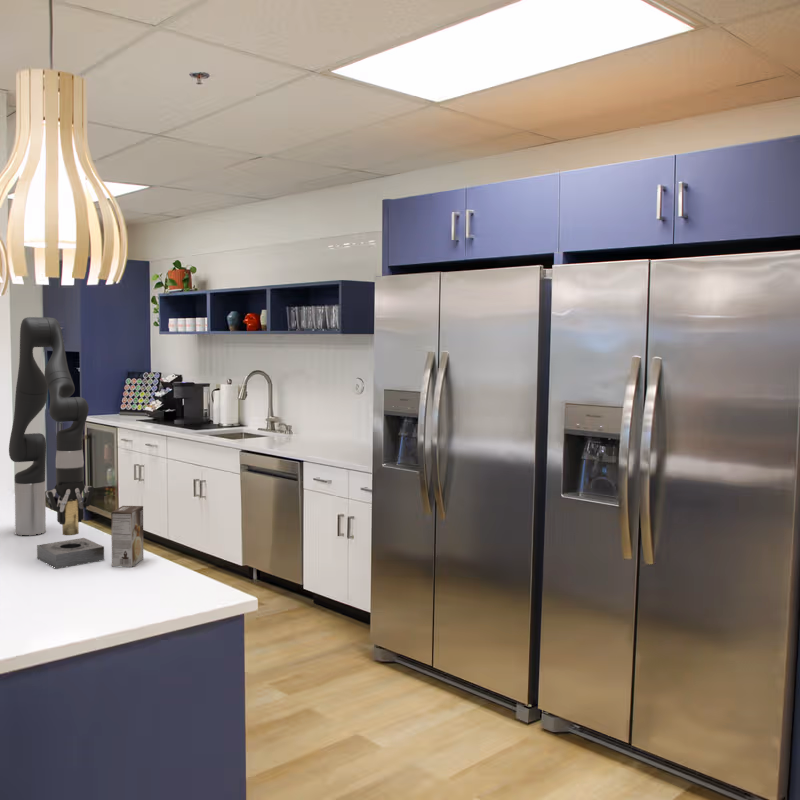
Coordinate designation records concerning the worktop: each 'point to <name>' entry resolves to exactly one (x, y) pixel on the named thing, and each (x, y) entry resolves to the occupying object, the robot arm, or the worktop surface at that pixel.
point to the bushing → (71, 518)
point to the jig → (70, 552)
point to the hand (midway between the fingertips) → (70, 522)
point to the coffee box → (127, 535)
